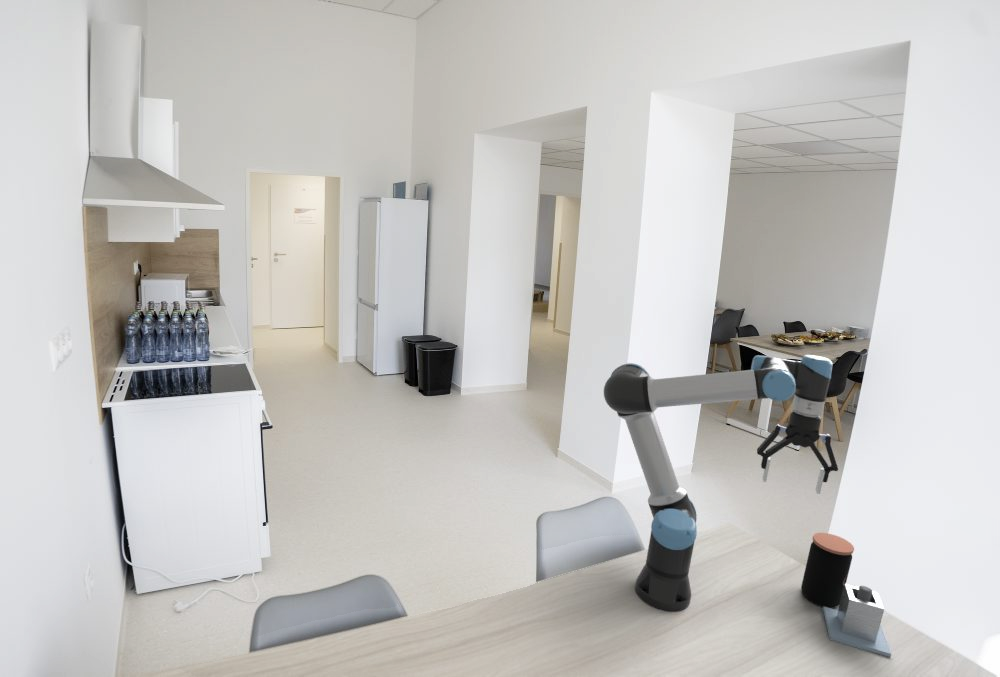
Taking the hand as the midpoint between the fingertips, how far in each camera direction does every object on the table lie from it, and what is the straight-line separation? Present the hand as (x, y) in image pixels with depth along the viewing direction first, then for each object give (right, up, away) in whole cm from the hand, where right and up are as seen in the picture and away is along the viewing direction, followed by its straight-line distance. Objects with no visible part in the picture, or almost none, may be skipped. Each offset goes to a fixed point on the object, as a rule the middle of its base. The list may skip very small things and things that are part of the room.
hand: (790, 485), depth 172 cm
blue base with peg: (+15, -38, -4) cm, 41 cm away
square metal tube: (+15, -37, -5) cm, 41 cm away
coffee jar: (+13, -35, +10) cm, 39 cm away
